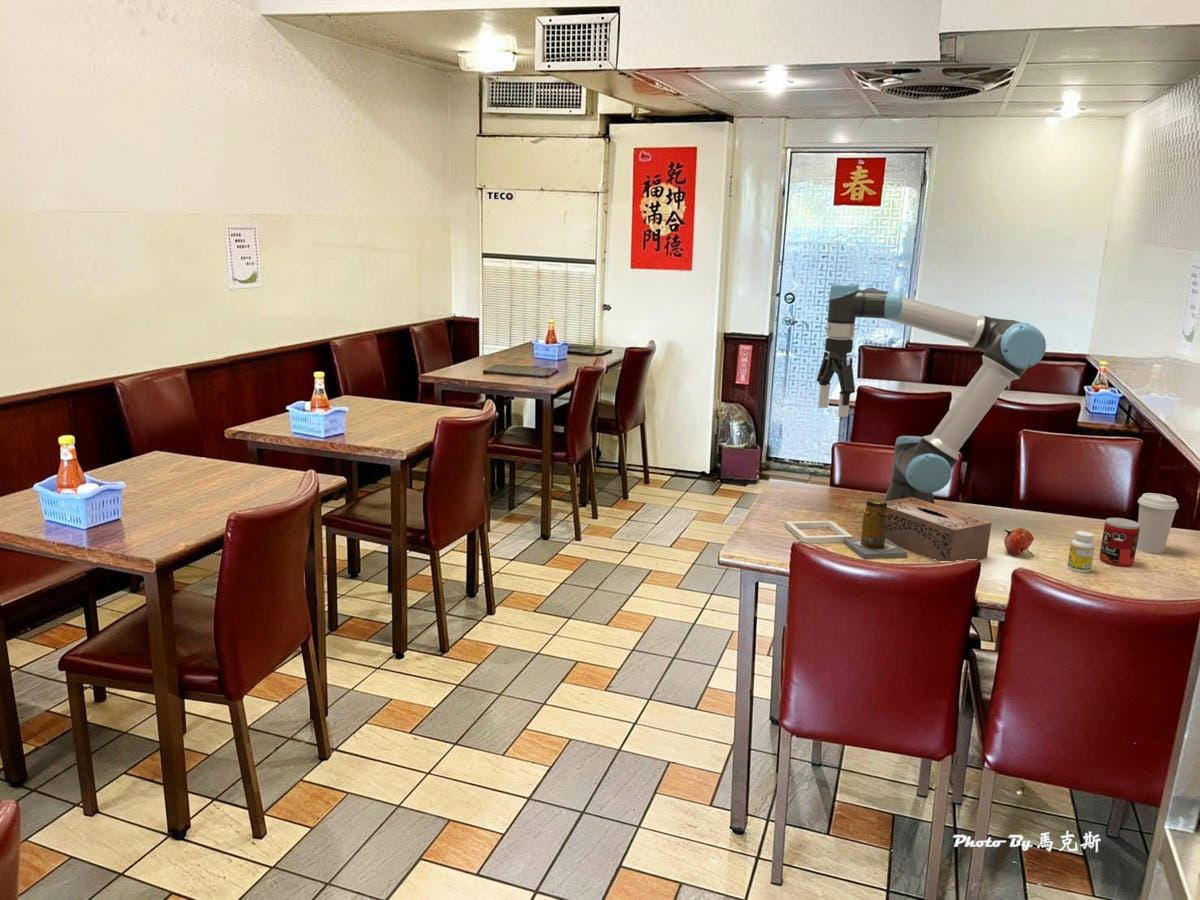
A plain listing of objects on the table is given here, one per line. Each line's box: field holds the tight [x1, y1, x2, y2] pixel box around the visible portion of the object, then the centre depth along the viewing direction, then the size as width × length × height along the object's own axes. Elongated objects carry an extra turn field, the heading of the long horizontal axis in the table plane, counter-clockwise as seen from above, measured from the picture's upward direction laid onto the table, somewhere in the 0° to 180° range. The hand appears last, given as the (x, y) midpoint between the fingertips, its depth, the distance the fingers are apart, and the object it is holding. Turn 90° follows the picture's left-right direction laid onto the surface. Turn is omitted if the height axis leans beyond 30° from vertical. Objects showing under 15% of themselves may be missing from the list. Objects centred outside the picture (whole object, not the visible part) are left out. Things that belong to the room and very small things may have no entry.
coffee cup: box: [1136, 492, 1180, 555], centre depth 246 cm, size 10×10×15 cm
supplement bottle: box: [1067, 530, 1096, 574], centre depth 230 cm, size 5×5×10 cm
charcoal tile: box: [843, 537, 908, 560], centre depth 239 cm, size 12×12×1 cm
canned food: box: [1099, 517, 1140, 568], centre depth 236 cm, size 8×8×11 cm
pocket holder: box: [784, 520, 854, 544], centre depth 251 cm, size 14×14×2 cm
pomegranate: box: [1003, 527, 1035, 557], centre depth 240 cm, size 7×7×10 cm
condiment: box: [855, 498, 895, 552], centre depth 238 cm, size 7×8×12 cm
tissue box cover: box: [885, 497, 993, 562], centre depth 243 cm, size 26×14×10 cm, turn 31°
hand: (832, 412), depth 260 cm, fingers open, 13 cm apart
